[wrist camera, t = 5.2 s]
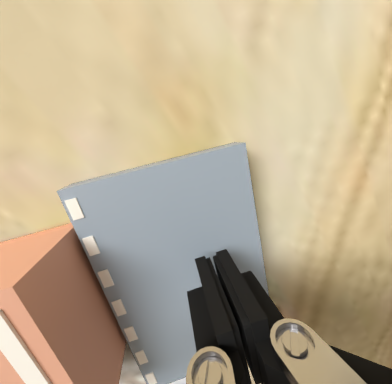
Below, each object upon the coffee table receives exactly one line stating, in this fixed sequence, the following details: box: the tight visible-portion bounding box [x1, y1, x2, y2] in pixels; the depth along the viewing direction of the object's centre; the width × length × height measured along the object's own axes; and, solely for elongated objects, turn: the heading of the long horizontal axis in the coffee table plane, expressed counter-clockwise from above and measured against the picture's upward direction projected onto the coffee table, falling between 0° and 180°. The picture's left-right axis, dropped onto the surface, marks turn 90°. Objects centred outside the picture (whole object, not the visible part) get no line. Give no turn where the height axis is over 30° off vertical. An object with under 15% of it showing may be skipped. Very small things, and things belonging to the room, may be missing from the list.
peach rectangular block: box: [0, 223, 126, 384], centre depth 9 cm, size 5×8×5 cm, turn 13°
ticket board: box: [57, 142, 269, 384], centre depth 12 cm, size 9×14×2 cm, turn 14°
